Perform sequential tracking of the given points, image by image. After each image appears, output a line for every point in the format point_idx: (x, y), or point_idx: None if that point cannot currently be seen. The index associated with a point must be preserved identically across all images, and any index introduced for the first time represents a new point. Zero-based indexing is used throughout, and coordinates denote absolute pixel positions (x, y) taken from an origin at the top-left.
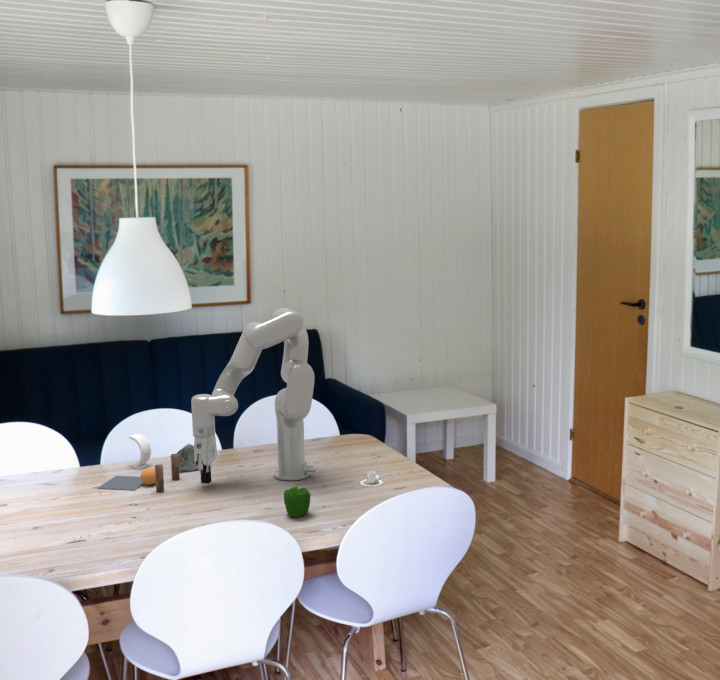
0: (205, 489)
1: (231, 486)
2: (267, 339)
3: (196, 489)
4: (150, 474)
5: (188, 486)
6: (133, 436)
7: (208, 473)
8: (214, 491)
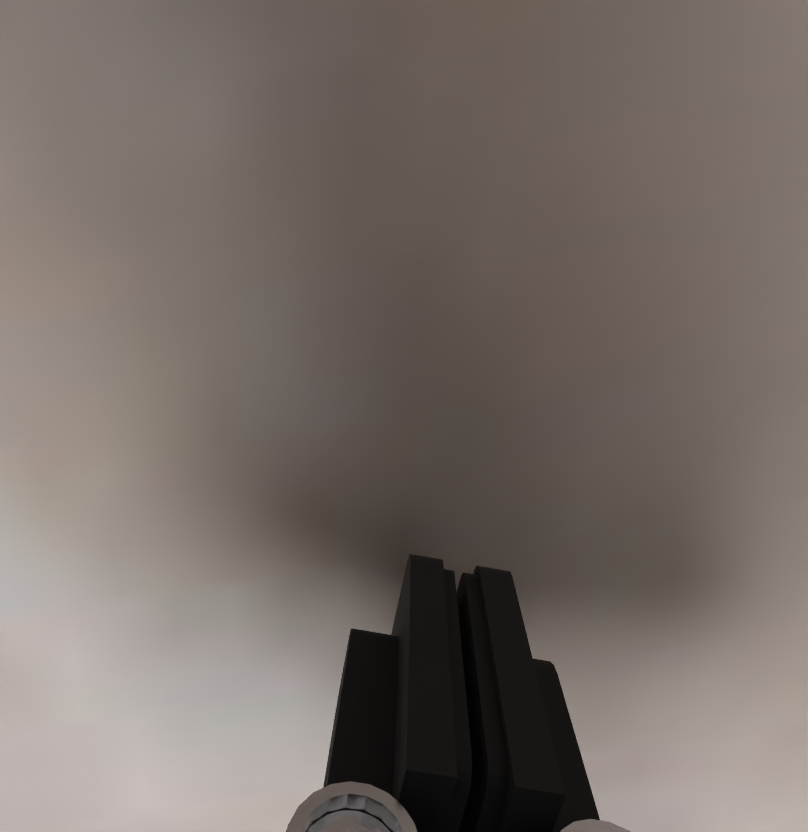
0: (582, 574)
1: (445, 64)
2: None
3: None
4: None
5: None
6: None
7: (548, 780)
8: (738, 399)
